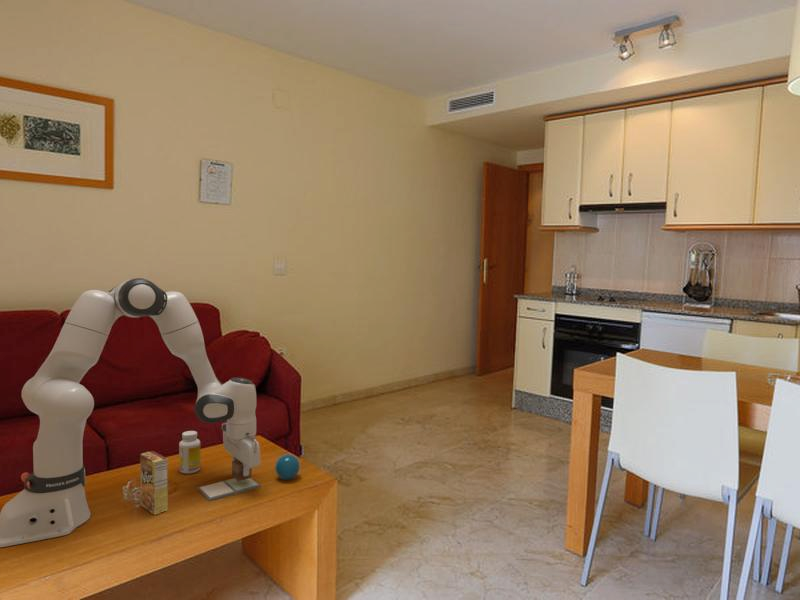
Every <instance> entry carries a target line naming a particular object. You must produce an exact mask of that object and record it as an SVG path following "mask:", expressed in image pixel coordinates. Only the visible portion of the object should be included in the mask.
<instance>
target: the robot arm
mask: <svg viewBox="0 0 800 600" xmlns="http://www.w3.org/2000/svg"><path fill="white" fill-rule="evenodd" d="M121 317H126V318H127V317H128V318H134V319H135V318H142V317H150V318H151V319H152V320H153V321H154V322H155V324H156V325H157V327H158V330H159V334H160V335H161V338H162V340H163V342H164V344H165V345H166V347H167V348H168V350H169V351H170V353H171V354H172V355H173V356H175V357H177V358H180V359H181V360H183V361H184V362H185V364H186V365H187V367H188V368H189V371H190V372H191V376H192V377H193V379H194V382H195V384H196V386H197V396H196V397H197V398H196V401H195V404H194V413H195V417H197V418H198V420H199V421H201V422H203V423H205V424H216V423H220V422H223V421H226V422H223V423H221V430H222V442H223V448H224V450H225V451H226V452H227V453H229V455H231V457H232V461H235V460H239V461H240V462H242V463H243V466H244V467H243V470H242V475H243V476H248V475H249V469H250V468H252V469H254V468H257V467H259V466H260V465H261V448H260V443H259V442H258V441H257V440H256V437H255V436H256V435H257V417H256V409H257V390H256V385H255V384H254V382H253V381H252V380H250V379H248V378H246V377H231V378H230V379H229V380H228V381H226V382H224V383H223V382H222V381H220V380H219V378H218V377H217V375H216V373H215V371H214V369H213V367H212V364H211V362H210V360H209V357H208V355H207V352H206V344H205V340H204V334H203V330H202V328H201V325H200V321H199V319H198V317H197V315H196V313H195V311H194V309H193V307H192V305H191V304H190V302H189V301H188V299H187V297H186V296H185V295H184V294H183V293H182V292H180V291H166V292H165V290H163V289H162V288H160V287H159V286H158V285H156V284H155V283H154V282H152V281H151V280H149V279H145V278H141V277H137V278H128V279H126V280H124V281H122V282H120V283H118V284H117V285H116V286H114V287H113V288H112V289H110V290H109V291H108V292H107V291H103V290H99V289H89V290H86V291H83V292H82V293H81V294H80V295H79V297H78V298H77V300H76V301H75V302H74V304H73V306H72V307H71V309H70V311H69V313H68V315H67V316H66V318H65V322H64V324H63V326H62V328H61V330H60V332H59V335H58V336H57V339H56V341H55V343H54V345H53V347H52V350H50V353H49V354H48V356H47V357H46V358H45V361H44V362H43V363H42V364H41V366H40V367H39V368H38V369H37V372H35V375H34V376H32V377H31V378H30V379H28V380H27V381H26V382H25V383H24V385H23V387H22V389H21V399H22V401H23V404H24V405H25V407H26V408H27V409H28V410H29V411H30V412H31V413H34V414H35V415H37V416H38V418H39V429H38V433H37V437H36V439H35V441H34V442H33V444H32V445H33V446H32V454H33V455H32V457H33V458H32V459H33V463H32V464H33V472H32V473H29V472H23V473H22V474H21V475H20V478H21V481H22V482H23V483H24V485H23V486H24V489H22V490H21V491H20V492H19V493H18V494H16V495H15V496H14V497H12V498H11V499H10V500H9V501H8V502H6V503H5V504H4V506H3V507H2V509H1V510H0V548H5V547H10V546H15V545H20V544H21V545H22V544H26V543H30V542H31V543H32V542H36V541H42V540H48V539H52V538H56V537H58V538H59V537H62V536H67V535H69V534H71V533H72V532H73V531H74V530H75V529H76V528H77V527H80V526H82V524H85V523H86V522H88V521H89V519H90V518H91V515H92V514H91V511H90V509H89V505H88V502H87V497H86V492H85V486H86V469H85V468H86V467H85V466H84V464H83V463H84V462H83V460H84V459H83V439H84V431H85V429H86V428H85V427H86V425H87V419H88V418H89V417H90V416H91V414H92V412H93V409H94V408H95V407H94V406H95V400H94V397H93V395H92V394H91V392H90V391H89V389H87V388H86V387H85V386H84V385H82V384H80V382H81V381H82V380H83V378H84V377H85V375H86V374H87V373H88V371H89V370H90V369H91V368H92V367H93V366H95V365H96V364H97V363H98V361H99V359H100V356H101V354H102V353H103V350H104V347H105V345H106V342H107V340H108V338H109V335H110V332H111V331H112V327H113V325H114V324H115V322H116V321H117V320H118V319H119V318H121Z"/></svg>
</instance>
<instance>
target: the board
mask: <svg viewBox="0 0 800 600" xmlns="http://www.w3.org/2000/svg"><path fill="white" fill-rule="evenodd" d="M256 489H261V484H259V483H258V482H257V481H255V480H254V479H253V478H249V479H245V480H241V481H237V480H236V479H235V478H233V477H232V478H229V479H226V480H221V481H218V482H213V483H209V484H205V485H203V486H202V485H201V486H198V487H197V490H198V492H200V493H201V494H202V496H204V497H205V498H206V499H207V500H208V502H212V501H215V499H216V500H218V499H222V498H225V497H230V496H234V495H237V494H241V493H245V492H249V491H252V490H256Z"/></svg>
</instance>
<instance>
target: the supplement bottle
mask: <svg viewBox="0 0 800 600" xmlns="http://www.w3.org/2000/svg"><path fill="white" fill-rule="evenodd" d="M181 437H182V440H181V441H179V443H178V452H179V453H178V458H179V459H178V461H179V462H178V464H179V472H180V473H182V474H187V475H189V474H194V473H197V472H198V471H200V470H201V467H202V466H201V464H202V463H201V462H202V461H201V458H202V456H201V440H200V439H198V438H197V437H198V431H196V430H187V431H184V432H182V434H181Z"/></svg>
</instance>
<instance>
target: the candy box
mask: <svg viewBox="0 0 800 600" xmlns="http://www.w3.org/2000/svg"><path fill="white" fill-rule="evenodd" d="M139 455H140V468H139V469H140V475H139V476H140V478H139V479H140V484H139V485H140V495H139V496H140V497H139V498H140V500H139V501H140V506H141V507H142V508H144V509H145V510H147V511H148V512H150V513H151V514H152V515H153V514H154V515H153V516H156V514H157V515H158V514H162V513H165V512H168V509H169V508H168V506H169V505H168V502H169V501H168V500H169V497H168V496H169V494H168V493H169V491H168V487H169V486H168V484H169V482H168V481H169V459H168V457H165V456H163V455H162V454H159V453H158V452H156V451H154V450H151V451H146V452H143V453H140V454H139ZM164 511H165V512H164ZM161 512H162V513H161Z"/></svg>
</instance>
